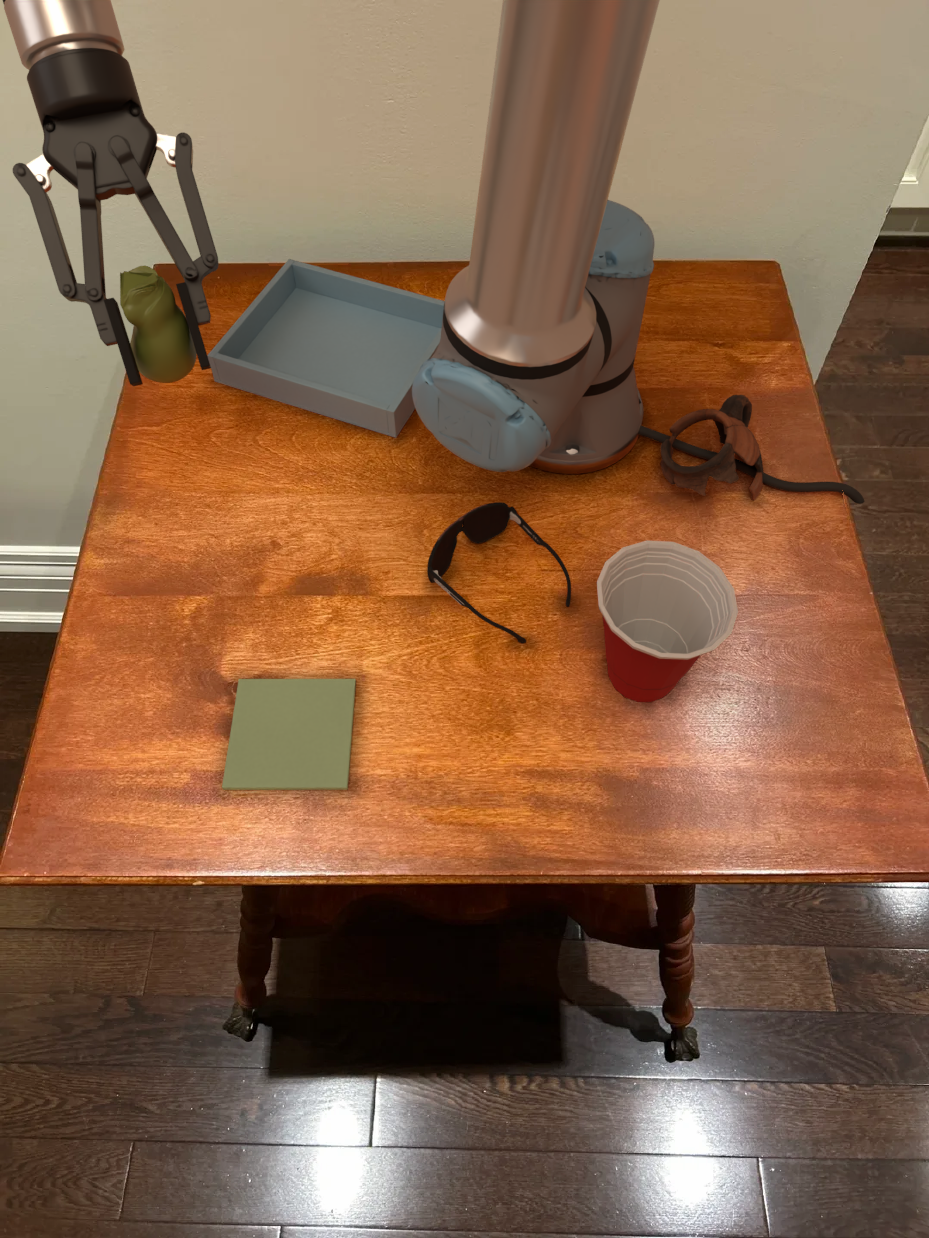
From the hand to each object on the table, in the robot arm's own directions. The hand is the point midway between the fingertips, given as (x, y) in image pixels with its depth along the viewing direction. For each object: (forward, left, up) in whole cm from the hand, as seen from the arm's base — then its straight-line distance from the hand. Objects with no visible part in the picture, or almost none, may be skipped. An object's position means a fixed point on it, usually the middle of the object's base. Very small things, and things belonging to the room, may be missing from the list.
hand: (171, 375), depth 77 cm
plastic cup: (-40, -15, -18) cm, 46 cm away
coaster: (-23, +10, -18) cm, 31 cm away
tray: (+9, -23, -18) cm, 31 cm away
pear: (+4, -2, -3) cm, 5 cm away
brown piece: (-30, -38, -18) cm, 52 cm away
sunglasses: (-25, -13, -18) cm, 34 cm away
